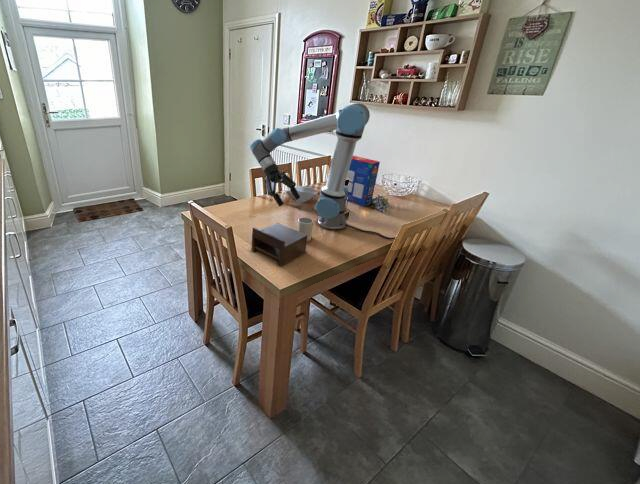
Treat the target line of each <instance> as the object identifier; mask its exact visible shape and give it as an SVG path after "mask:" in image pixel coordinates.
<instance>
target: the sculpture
mask: <svg viewBox="0 0 640 484" xmlns="http://www.w3.org/2000/svg"><path fill="white" fill-rule="evenodd" d="M295 188H296V190H297V193H298V194H299V196H300V198H299V199H297V200H296V199H295V197H294V196H293V194H292V192H291V191H290V189H291V188H288V189H285V190H282V192H281V195H280V198H281V200H282V201H283V197H284V194H285V193H286V194H287V195H288V197H289V198H291V199H293V198H294V201H295V203H296V205H297V207H299V206H300V205H302V204H304V203H306V202H308V201H309V200H313V199H314V198H315V196H316V195H319V196H320V193H321V192H320V191H318V190H317V189H315V188H313V187H312V186H304V185H296V186H295Z"/></svg>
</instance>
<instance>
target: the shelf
mask: <svg viewBox="0 0 640 484" xmlns="http://www.w3.org/2000/svg"><path fill="white" fill-rule="evenodd" d="M251 232H252V233H251V251H252V252H253V253H255V252H256V251H259V252H261V253H263V254H266V255H267V256H270V257H271V258H273V259H276V260H278V266H280V267H282V266H283V265H286V264H287V263H290V262H291V261H293V260H294V259H296V258H298V257H300V256H301V255H303V254H305V253H306V252H307V244H308V241H307V235H306V234H303V233H301V232H299V231H297V229H294V228H291V227H289V226H287V225H284V224H281V223H279V222H276V223H273V224H271V225H269V226H266V227H264V228H261V229H259V228H258V227H255V226H254V227H252V231H251Z"/></svg>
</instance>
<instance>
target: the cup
mask: <svg viewBox="0 0 640 484" xmlns="http://www.w3.org/2000/svg"><path fill="white" fill-rule="evenodd" d="M313 228H314V220H313V218H310V217H307V216H301V217H299V218H297V224H296V231H299V232H301V233H303V234H306V235H307V242H310V241H312V236H313V235H312V234H313Z"/></svg>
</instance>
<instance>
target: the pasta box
mask: <svg viewBox="0 0 640 484" xmlns="http://www.w3.org/2000/svg"><path fill="white" fill-rule="evenodd" d="M380 162H381V161H378V160H376V159H375V160H374V159H370V158H365V157H360V156H357V155H353V157H352V160H351V164H350V167H349V171H348V174H347V178H349V185H348V195H347V197H348V200H347V201H346V202H349V203H352V204H355V205H358V206H360V207H364V208H365V207H368V206H371V205H372V204H371V203H372V199H373V197H374V194H375V187H376V183H377V178H378V173H379V168H380Z"/></svg>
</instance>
